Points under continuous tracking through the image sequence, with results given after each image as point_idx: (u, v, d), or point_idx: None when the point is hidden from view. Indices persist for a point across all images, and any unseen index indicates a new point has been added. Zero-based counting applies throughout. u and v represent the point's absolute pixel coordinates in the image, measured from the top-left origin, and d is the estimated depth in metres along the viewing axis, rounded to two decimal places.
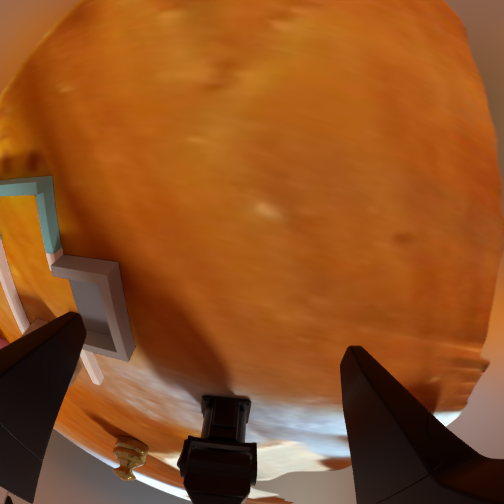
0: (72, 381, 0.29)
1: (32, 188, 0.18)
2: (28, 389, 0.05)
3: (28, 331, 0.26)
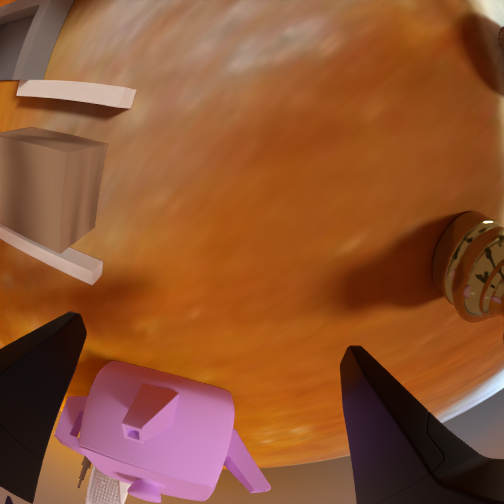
0: (72, 149, 0.11)
1: None
2: (28, 389, 0.05)
3: None
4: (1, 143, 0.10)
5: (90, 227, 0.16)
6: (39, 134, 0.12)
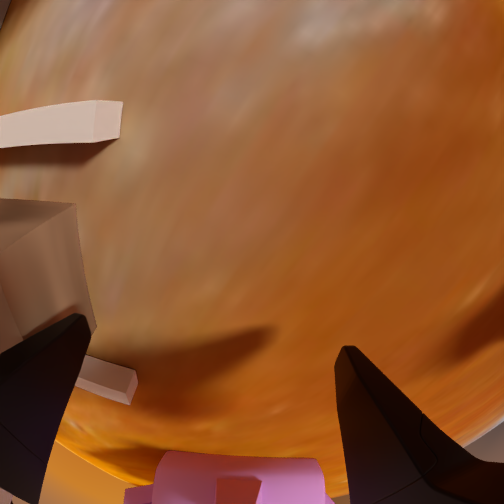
0: (6, 241, 0.05)
1: None
2: (33, 392, 0.05)
3: None
4: None
5: None
6: None
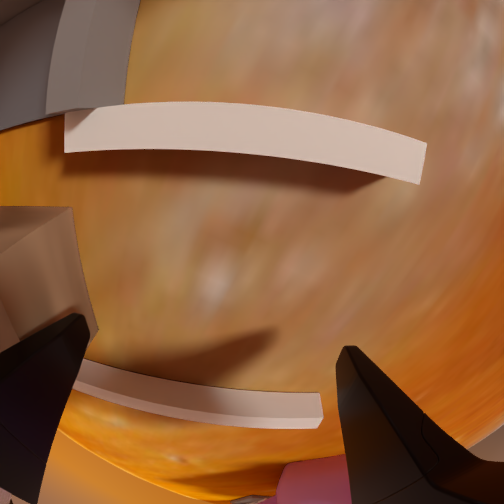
0: (1, 247, 0.05)
1: None
2: (32, 391, 0.05)
3: None
4: None
5: (90, 337, 0.10)
6: None
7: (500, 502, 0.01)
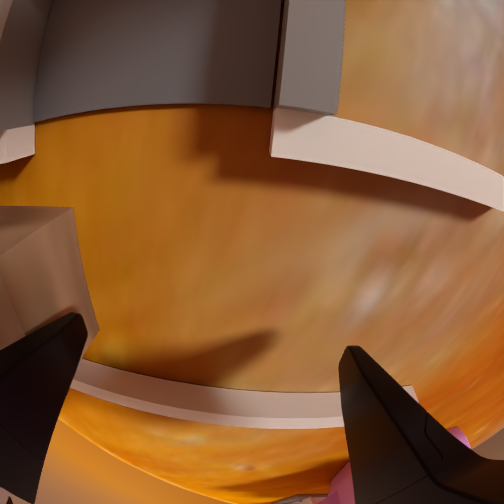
0: (8, 243, 0.06)
1: None
2: (29, 390, 0.05)
3: None
4: None
5: (93, 333, 0.11)
6: None
7: (503, 500, 0.01)
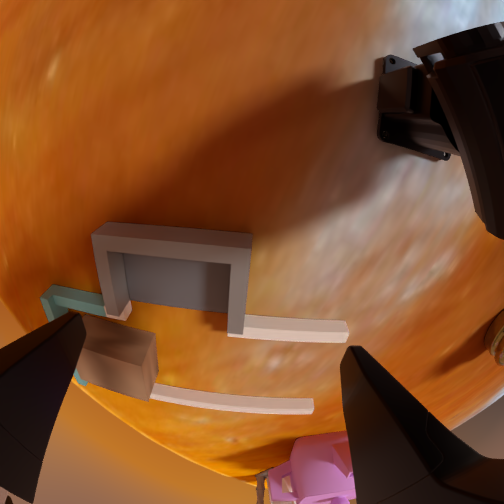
0: (140, 357, 0.21)
1: (45, 304, 0.20)
2: (28, 389, 0.05)
3: None
4: None
5: (156, 374, 0.26)
6: (102, 333, 0.22)
7: None
